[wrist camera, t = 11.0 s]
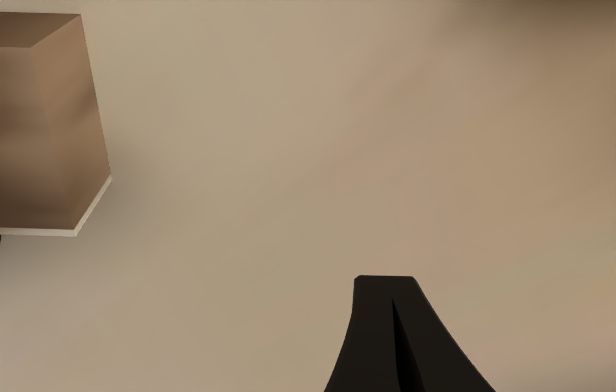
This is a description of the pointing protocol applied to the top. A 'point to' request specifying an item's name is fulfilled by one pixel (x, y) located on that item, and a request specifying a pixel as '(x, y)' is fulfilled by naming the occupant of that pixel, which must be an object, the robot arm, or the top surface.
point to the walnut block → (48, 126)
